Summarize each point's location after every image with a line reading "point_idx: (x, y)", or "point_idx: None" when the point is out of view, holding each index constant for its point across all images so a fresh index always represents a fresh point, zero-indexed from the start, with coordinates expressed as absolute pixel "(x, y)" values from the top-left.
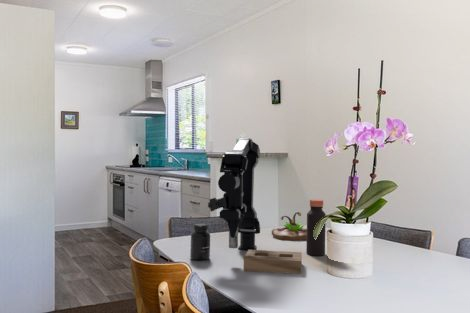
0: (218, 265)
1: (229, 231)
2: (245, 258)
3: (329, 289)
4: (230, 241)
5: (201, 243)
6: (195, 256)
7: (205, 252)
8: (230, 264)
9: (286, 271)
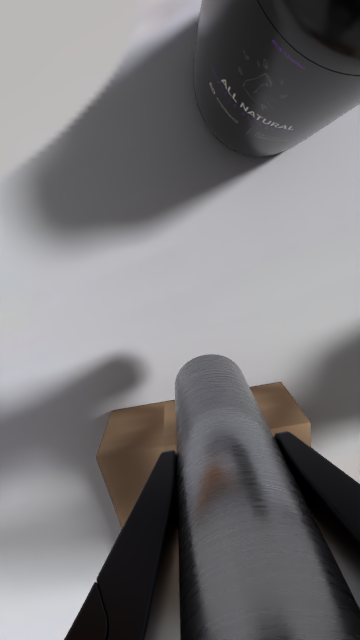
0: (147, 272)
1: (194, 483)
2: (100, 462)
3: (44, 635)
4: (178, 409)
5: (226, 32)
6: (195, 49)
7: (233, 125)
8: (192, 323)
9: None
